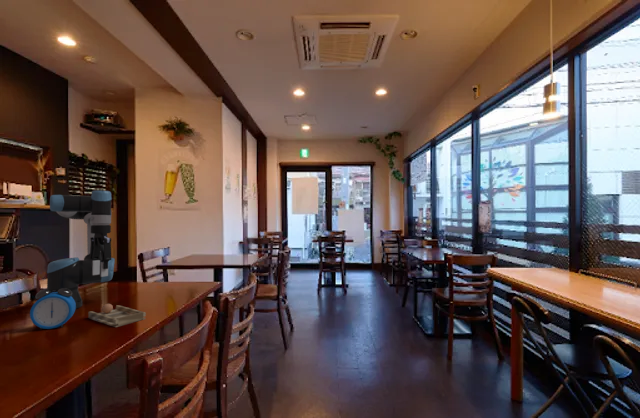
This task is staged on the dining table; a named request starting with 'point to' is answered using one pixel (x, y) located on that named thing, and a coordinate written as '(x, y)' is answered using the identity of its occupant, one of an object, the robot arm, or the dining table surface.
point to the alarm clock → (52, 308)
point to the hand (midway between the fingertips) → (100, 275)
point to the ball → (107, 308)
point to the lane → (118, 316)
